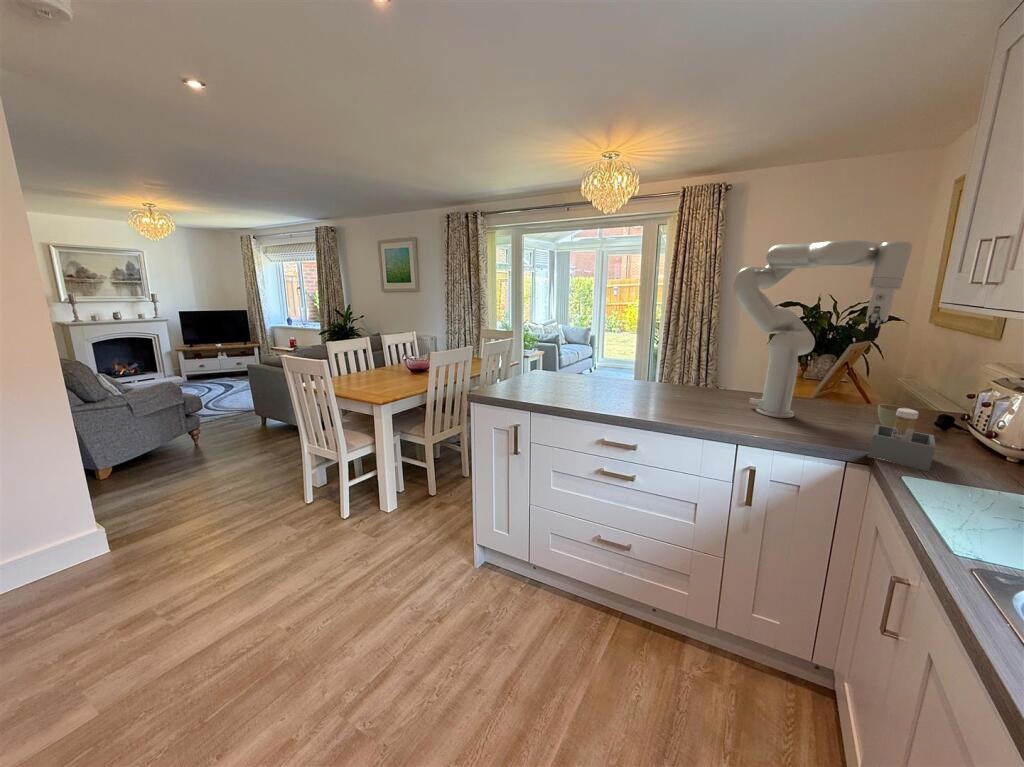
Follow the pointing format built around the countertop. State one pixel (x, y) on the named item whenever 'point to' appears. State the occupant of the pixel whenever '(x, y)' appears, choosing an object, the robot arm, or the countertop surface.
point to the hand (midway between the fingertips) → (869, 339)
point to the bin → (902, 448)
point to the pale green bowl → (888, 414)
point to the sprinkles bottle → (904, 424)
